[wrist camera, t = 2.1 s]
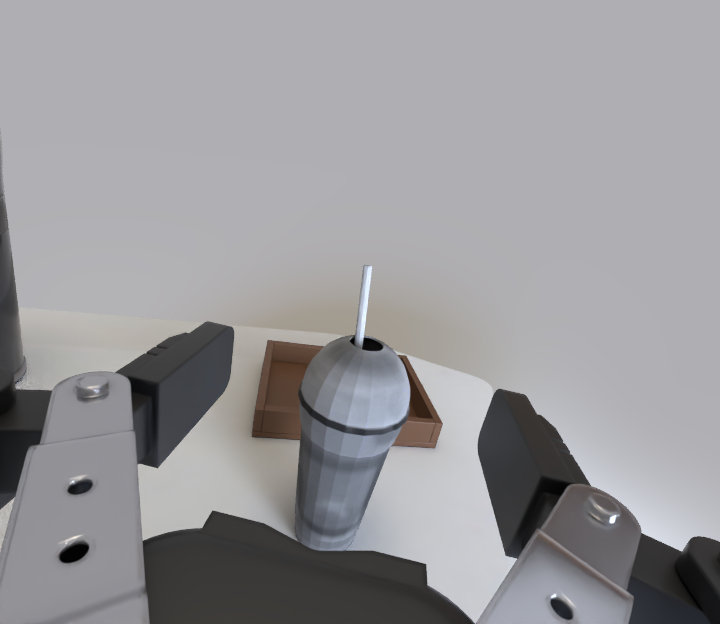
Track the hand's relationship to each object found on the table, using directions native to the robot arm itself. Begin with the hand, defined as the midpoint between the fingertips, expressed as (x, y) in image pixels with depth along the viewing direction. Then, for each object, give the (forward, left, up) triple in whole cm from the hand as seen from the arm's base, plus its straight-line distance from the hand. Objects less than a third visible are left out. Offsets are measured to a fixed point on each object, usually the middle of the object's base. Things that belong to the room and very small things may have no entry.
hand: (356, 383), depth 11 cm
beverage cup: (-6, +9, -19) cm, 22 cm away
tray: (-17, +22, -19) cm, 34 cm away
